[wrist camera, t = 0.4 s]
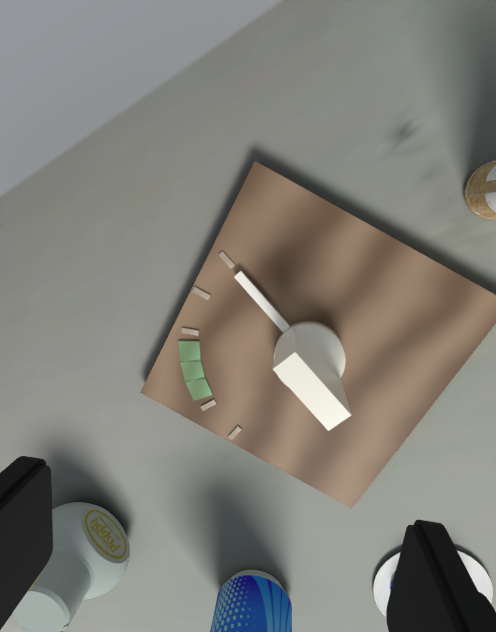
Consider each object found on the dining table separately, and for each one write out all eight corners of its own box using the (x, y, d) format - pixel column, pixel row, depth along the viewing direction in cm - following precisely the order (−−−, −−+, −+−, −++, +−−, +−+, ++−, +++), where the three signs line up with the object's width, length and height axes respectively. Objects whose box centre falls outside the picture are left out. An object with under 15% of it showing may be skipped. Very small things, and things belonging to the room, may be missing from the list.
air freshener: (40, 510, 44) (-31, 590, 35) (87, 477, 42) (26, 553, 33) (100, 575, 46) (48, 669, 36) (149, 546, 44) (108, 638, 34)
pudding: (369, 539, 40) (380, 585, 35) (491, 539, 38) (520, 588, 33) (374, 626, 43) (384, 680, 38) (487, 631, 41) (514, 688, 36)
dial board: (501, 299, 32) (512, 303, 30) (349, 497, 39) (352, 510, 37) (256, 163, 32) (254, 160, 30) (146, 386, 38) (139, 393, 37)
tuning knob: (356, 357, 33) (375, 398, 25) (304, 396, 35) (306, 446, 27) (263, 250, 32) (253, 259, 24) (213, 295, 33) (188, 317, 26)
